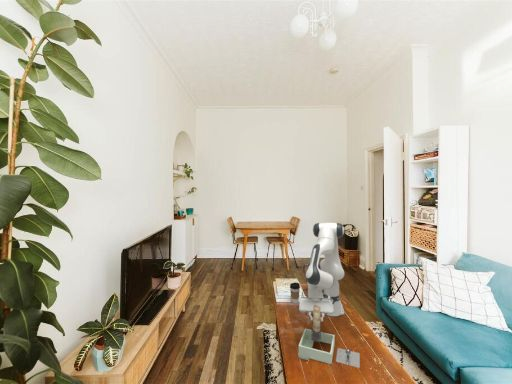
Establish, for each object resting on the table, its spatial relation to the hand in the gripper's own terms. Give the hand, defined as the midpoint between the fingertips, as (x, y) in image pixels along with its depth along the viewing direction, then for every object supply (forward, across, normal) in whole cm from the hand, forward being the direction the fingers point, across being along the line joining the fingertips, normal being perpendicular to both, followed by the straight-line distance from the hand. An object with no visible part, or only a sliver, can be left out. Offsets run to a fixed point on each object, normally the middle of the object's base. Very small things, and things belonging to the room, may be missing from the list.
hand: (316, 321), depth 142 cm
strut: (+7, 0, +8) cm, 11 cm away
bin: (+13, +1, +14) cm, 19 cm away
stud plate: (+16, +17, +10) cm, 25 cm away
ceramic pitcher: (-45, +8, +71) cm, 84 cm away
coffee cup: (-30, -10, +57) cm, 65 cm away
